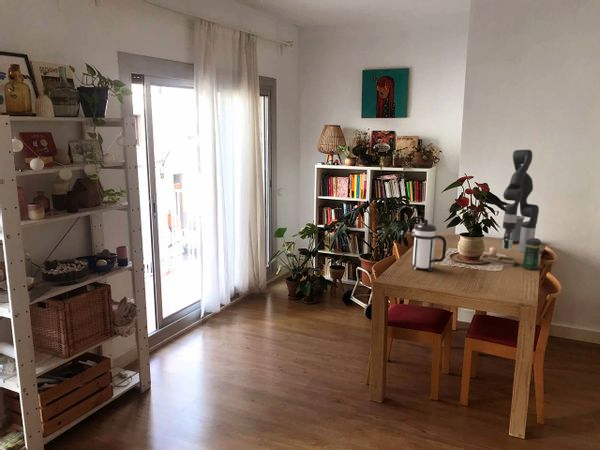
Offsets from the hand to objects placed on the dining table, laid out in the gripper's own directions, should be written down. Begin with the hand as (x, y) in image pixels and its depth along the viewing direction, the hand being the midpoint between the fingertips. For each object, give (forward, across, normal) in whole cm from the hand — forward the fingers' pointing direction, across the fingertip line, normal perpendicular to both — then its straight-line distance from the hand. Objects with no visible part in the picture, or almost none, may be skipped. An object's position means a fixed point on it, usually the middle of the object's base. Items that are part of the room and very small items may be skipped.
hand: (506, 247), depth 305 cm
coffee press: (+11, +42, -38) cm, 58 cm away
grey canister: (+10, -66, -7) cm, 67 cm away
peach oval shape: (+10, -12, -10) cm, 19 cm away
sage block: (0, 0, 0) cm, 0 cm away
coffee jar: (+10, +2, +15) cm, 18 cm away
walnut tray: (+10, 0, -5) cm, 11 cm away
